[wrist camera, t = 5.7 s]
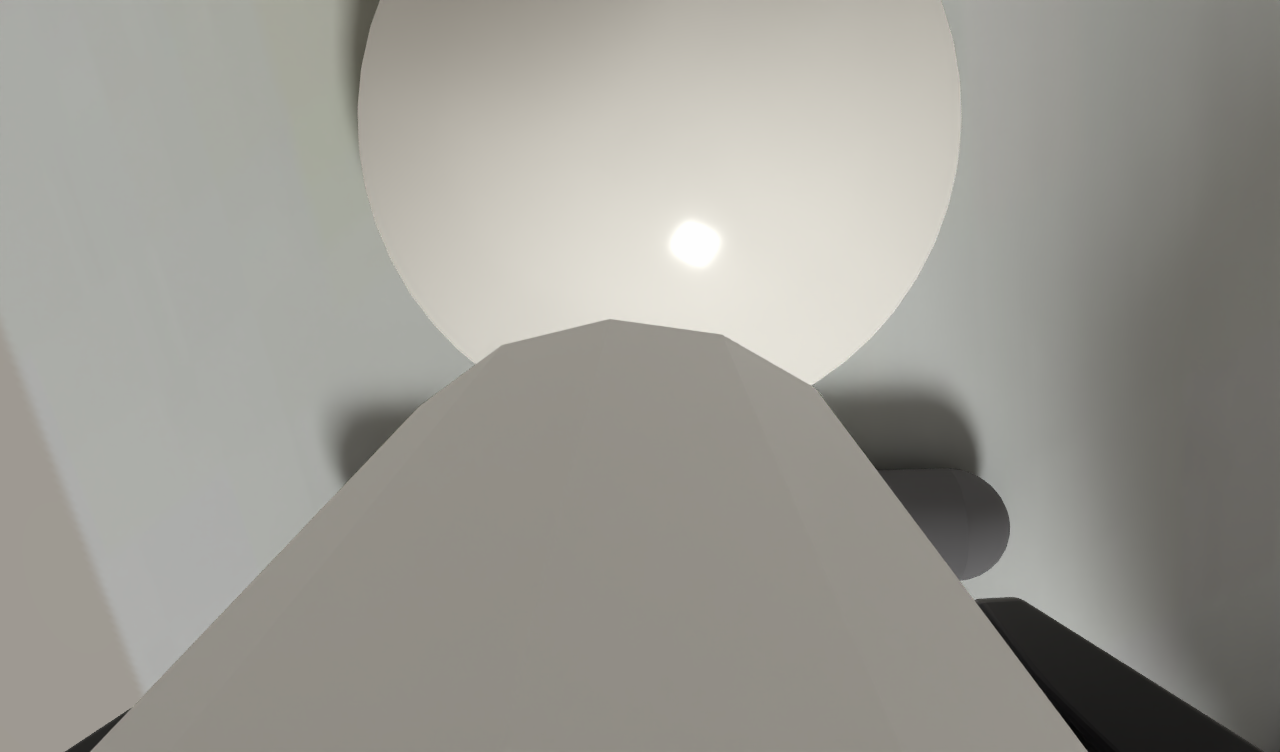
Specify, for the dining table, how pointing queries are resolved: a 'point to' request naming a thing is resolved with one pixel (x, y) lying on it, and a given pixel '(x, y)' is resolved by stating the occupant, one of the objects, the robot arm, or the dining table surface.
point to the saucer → (661, 165)
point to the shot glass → (605, 582)
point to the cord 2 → (955, 515)
